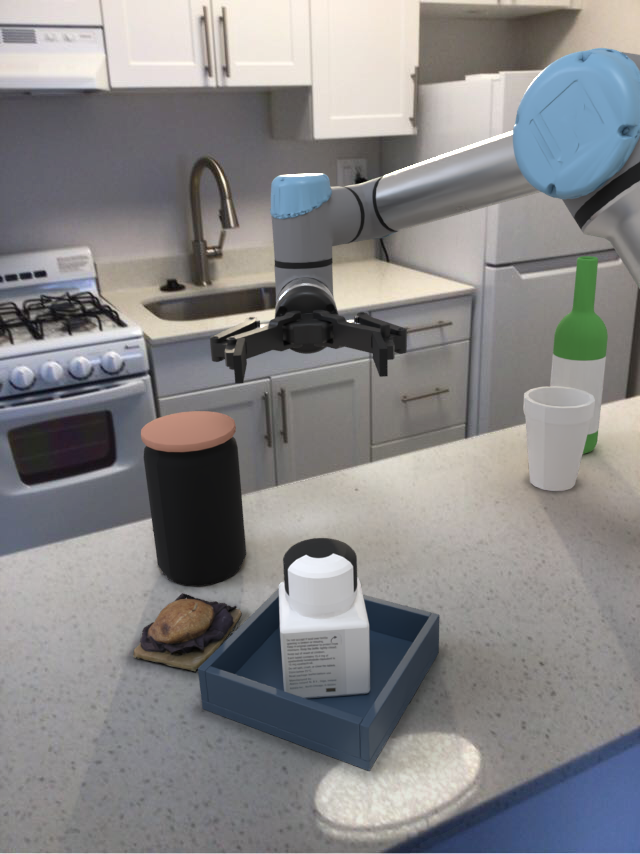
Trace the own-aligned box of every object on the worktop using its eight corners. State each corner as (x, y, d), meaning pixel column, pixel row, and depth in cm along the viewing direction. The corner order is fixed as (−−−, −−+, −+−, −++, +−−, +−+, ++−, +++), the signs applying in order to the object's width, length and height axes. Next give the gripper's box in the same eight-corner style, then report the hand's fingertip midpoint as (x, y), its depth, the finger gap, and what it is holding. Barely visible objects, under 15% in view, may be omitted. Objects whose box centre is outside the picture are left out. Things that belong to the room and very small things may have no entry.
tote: (439, 652, 75) (439, 614, 73) (369, 771, 61) (368, 727, 59) (293, 611, 82) (291, 575, 80) (202, 709, 68) (197, 668, 67)
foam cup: (590, 473, 112) (598, 390, 107) (582, 500, 104) (591, 411, 99) (524, 464, 115) (530, 383, 111) (512, 489, 108) (517, 403, 103)
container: (282, 647, 75) (275, 531, 70) (360, 642, 75) (358, 526, 70) (284, 702, 67) (276, 576, 63) (370, 695, 68) (368, 570, 63)
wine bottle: (578, 461, 116) (597, 263, 105) (535, 447, 122) (549, 258, 111) (606, 447, 121) (626, 256, 110) (563, 434, 126) (579, 252, 115)
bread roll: (199, 677, 73) (195, 645, 71) (125, 658, 76) (121, 627, 74) (249, 614, 82) (246, 585, 81) (181, 599, 85) (178, 571, 83)
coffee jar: (265, 556, 93) (255, 420, 86) (206, 599, 85) (190, 452, 78) (200, 535, 99) (186, 405, 92) (139, 573, 90) (119, 433, 84)
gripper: (410, 341, 92) (443, 397, 72) (204, 351, 91) (181, 410, 72) (410, 279, 89) (444, 320, 70) (198, 289, 89) (172, 332, 69)
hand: (311, 366), depth 71 cm, fingers open, 13 cm apart
